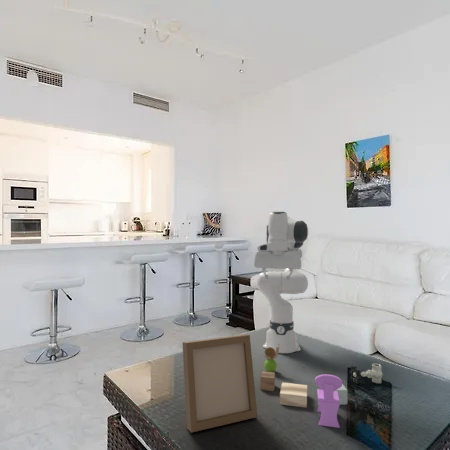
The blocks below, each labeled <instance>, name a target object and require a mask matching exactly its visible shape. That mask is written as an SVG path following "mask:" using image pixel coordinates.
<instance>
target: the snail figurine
mask: <svg viewBox="0 0 450 450" xmlns="http://www.w3.org/2000/svg"><path fill="white" fill-rule="evenodd" d="M278 345H279V344H278ZM278 352H279V347H278V346H277V347H276V352H275V350H274V349H273V348H272V347H267V348H264V358H265V359H266V360H265V361H264V363H263V368H264V369H265V370H266V371H265V372H273V373H275V371H277V368H278V363H277V361H276V360H275V359H277V357H278V355H279V353H278Z"/></svg>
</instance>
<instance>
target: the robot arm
mask: <svg viewBox="0 0 450 450" xmlns="http://www.w3.org/2000/svg"><path fill="white" fill-rule="evenodd" d="M308 236H309V227H308V224H307V223H306V221H304V220H295V219H293V218H291V217H290V216H288V214H287V212H285V211H271V212H270V213H269V216H268V224H267V225H266V235H265V241H266V243H264V244H260V245H258V246H257V252H256V253H255V255H254V261H253V262H254V264H253V265H254V268H256V269H261V270H262V272H260V273H259V274H258V275H257V277H256V286H257V288H258V290H259V291H260V292H262V293H263V295H264V296H265V297H266V298H267V300H268V303H269V308H270V320H269V329H268V330H267V331H266V341H265V343H264V344H263V345H262V348H264V349H266V348H267V347H272V348H273V349H274V350H275V353H276V347H277V346H278V347H279V352H278V354H292V353H294V352H300V351H301V347H300V345H299V343H298V340H297V333H296V331H295V330H294V326H295V324H294V318H293V317H294V316H293V314H294V312H293V311H294V308H293V304H292V303H290V302H289V301H288V300H286V299H284V298H283V297H282V295H281V294H283V295H287V294H288V295H299V294H304V293H305V292H306V291H307V289H308V287H309V280H308V277H307V276H306V275H305V274H304V273H302V272H300V271H298V270H300V269H301V268H302V260H301V258H302V257H303V251H302V249H301V248H302V246H303V245H304V242H305V241H307V239H308ZM267 269H273V270H269V271H267ZM278 344H279V345H278Z"/></svg>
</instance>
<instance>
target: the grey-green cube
mask: <svg viewBox="0 0 450 450" xmlns="http://www.w3.org/2000/svg"><path fill="white" fill-rule="evenodd" d="M335 391H338V397H339V405H348V389H347V387H346V386H345V385H344V384H343V383H342V386H341V387H340V388H339V389H337V390H335Z"/></svg>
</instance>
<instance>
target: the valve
mask: <svg viewBox="0 0 450 450" xmlns="http://www.w3.org/2000/svg"><path fill="white" fill-rule="evenodd" d="M357 368H358V367H357V365H356V366H355V365H353V366H352V365H351V366H350V369H351V370H349V374H350V379H351V380H353V381H352V383H353V382H354V383H353V384H360V380H361V379H362V377H363V378H364V377H367V378H368V379H371V382H372V383H375V384H382V377H383V371H382V364H380V363H372V364H371V369H367V370H365V371H360V370H359V369H357Z"/></svg>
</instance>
